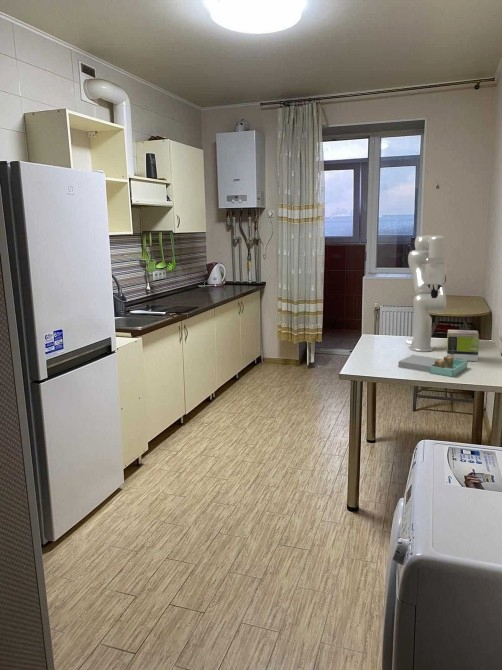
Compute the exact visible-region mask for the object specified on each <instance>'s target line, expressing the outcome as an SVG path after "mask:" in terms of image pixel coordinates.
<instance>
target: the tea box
mask: <svg viewBox="0 0 502 670" xmlns="http://www.w3.org/2000/svg"><path fill="white" fill-rule="evenodd" d="M479 344H480V334H479V331H478V330H467V329H466V330H465V329H464V330H463V329H447V338H446V356H453V359H456V360H463V361H469V362H478V361H479V360H478V359H479V346H480V345H479Z"/></svg>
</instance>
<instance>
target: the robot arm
mask: <svg viewBox="0 0 502 670" xmlns="http://www.w3.org/2000/svg"><path fill="white" fill-rule="evenodd" d="M446 246H447V240H446V237H445V236H443V235H429V234H426V235H417V236H416V238H415V240H414V248H415V249H413V250H411V251H410V252H409V253H408V256H407V263H408V267H409V269H410V271H411V273H412V276H413V285H414V287H413V288H414V291H415V294H416V295H415V296H414V297H413V300H412V301H413V302H412V303H413V315H414V316H413V337H412V340H408V339H407V340H406V345H410V346H409V349H410V350H411V351H414V352H423V353H424V352H428V353H429V352H432V351H433V350H434V347H433V346H431V345H432V343H431V342H432V325H433V323H432V322H433V319H432V316H431V315H430V313H428V312H443V311H445V310H446V308H447V295H446V289H445V287H446V286H447V284H446V283H447V267H446V263H445V257H446V256H445V255H446V254H445V253H446ZM423 265H425V267H424V266H423Z"/></svg>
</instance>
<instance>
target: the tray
mask: <svg viewBox="0 0 502 670" xmlns="http://www.w3.org/2000/svg"><path fill="white" fill-rule="evenodd" d="M468 363H469V362H468V361H463V360H456V359H453V367H451V368H440V367H434V366H430V372H429V374H432V375H438V376H444V377H449V378H454V377H455V376H457V375H459V374H460V373H463V371H465V370H467V369H468V365H469V364H468Z"/></svg>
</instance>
